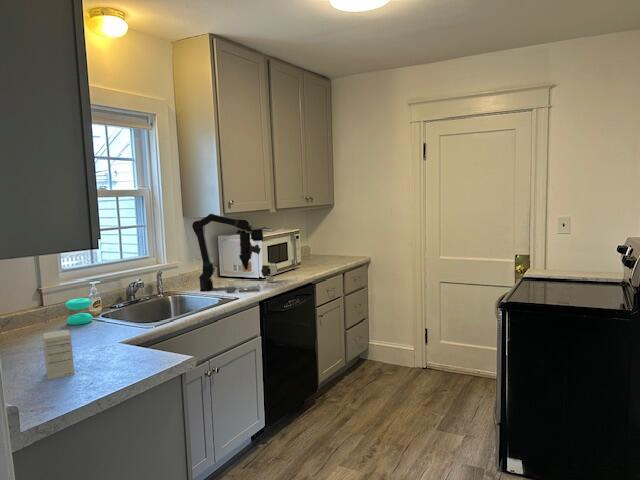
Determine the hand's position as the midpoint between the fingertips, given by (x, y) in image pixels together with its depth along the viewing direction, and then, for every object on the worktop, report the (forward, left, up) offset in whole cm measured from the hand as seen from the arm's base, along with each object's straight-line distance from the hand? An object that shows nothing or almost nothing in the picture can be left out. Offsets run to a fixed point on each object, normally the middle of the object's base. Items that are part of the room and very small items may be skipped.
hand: (246, 268), depth 269 cm
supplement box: (-50, -121, -11) cm, 132 cm away
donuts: (-69, -57, -11) cm, 90 cm away
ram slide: (-9, +1, -10) cm, 13 cm away
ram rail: (-9, -4, -11) cm, 15 cm away
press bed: (+1, -7, -11) cm, 13 cm away
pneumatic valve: (+13, +14, -11) cm, 22 cm away
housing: (0, 0, -1) cm, 1 cm away
